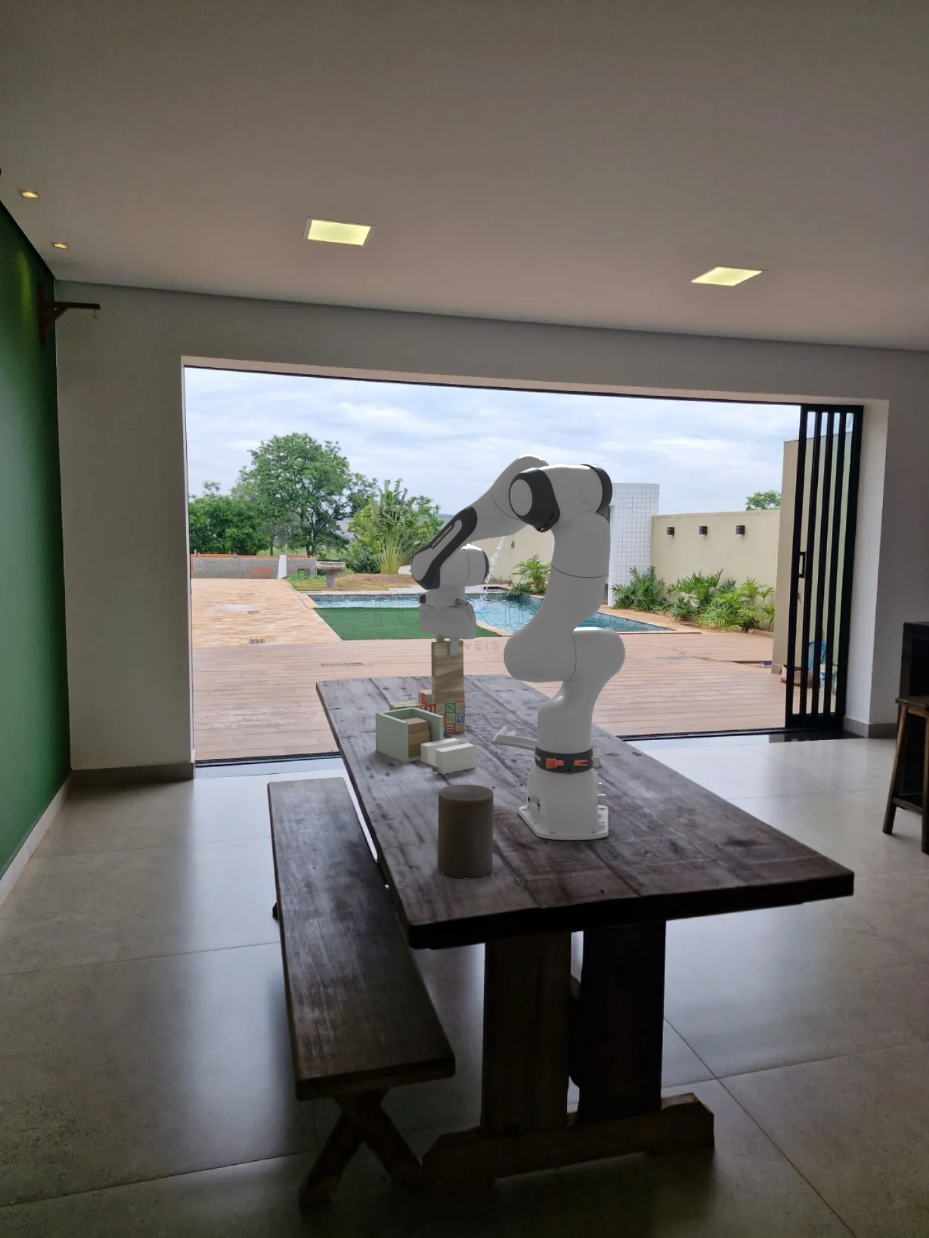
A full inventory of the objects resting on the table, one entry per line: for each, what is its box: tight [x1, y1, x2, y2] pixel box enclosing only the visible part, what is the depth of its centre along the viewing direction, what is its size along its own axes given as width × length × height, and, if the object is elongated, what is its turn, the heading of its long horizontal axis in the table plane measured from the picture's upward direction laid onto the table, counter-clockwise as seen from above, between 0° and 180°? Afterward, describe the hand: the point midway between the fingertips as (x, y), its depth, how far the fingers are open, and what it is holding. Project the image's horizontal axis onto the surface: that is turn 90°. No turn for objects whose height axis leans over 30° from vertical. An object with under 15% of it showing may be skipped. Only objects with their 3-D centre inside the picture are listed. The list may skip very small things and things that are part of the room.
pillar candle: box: [437, 783, 494, 879], centre depth 143 cm, size 10×10×15 cm
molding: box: [491, 725, 601, 769], centre depth 220 cm, size 42×12×3 cm, turn 34°
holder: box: [419, 737, 477, 775], centre depth 205 cm, size 10×10×6 cm
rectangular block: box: [430, 639, 465, 704], centre depth 203 cm, size 2×8×15 cm, turn 126°
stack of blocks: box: [388, 689, 466, 734], centre depth 239 cm, size 21×6×12 cm, turn 112°
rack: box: [375, 707, 445, 763], centre depth 214 cm, size 14×12×11 cm
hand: (447, 653), depth 203 cm, fingers closed on rectangular block, 2 cm apart
